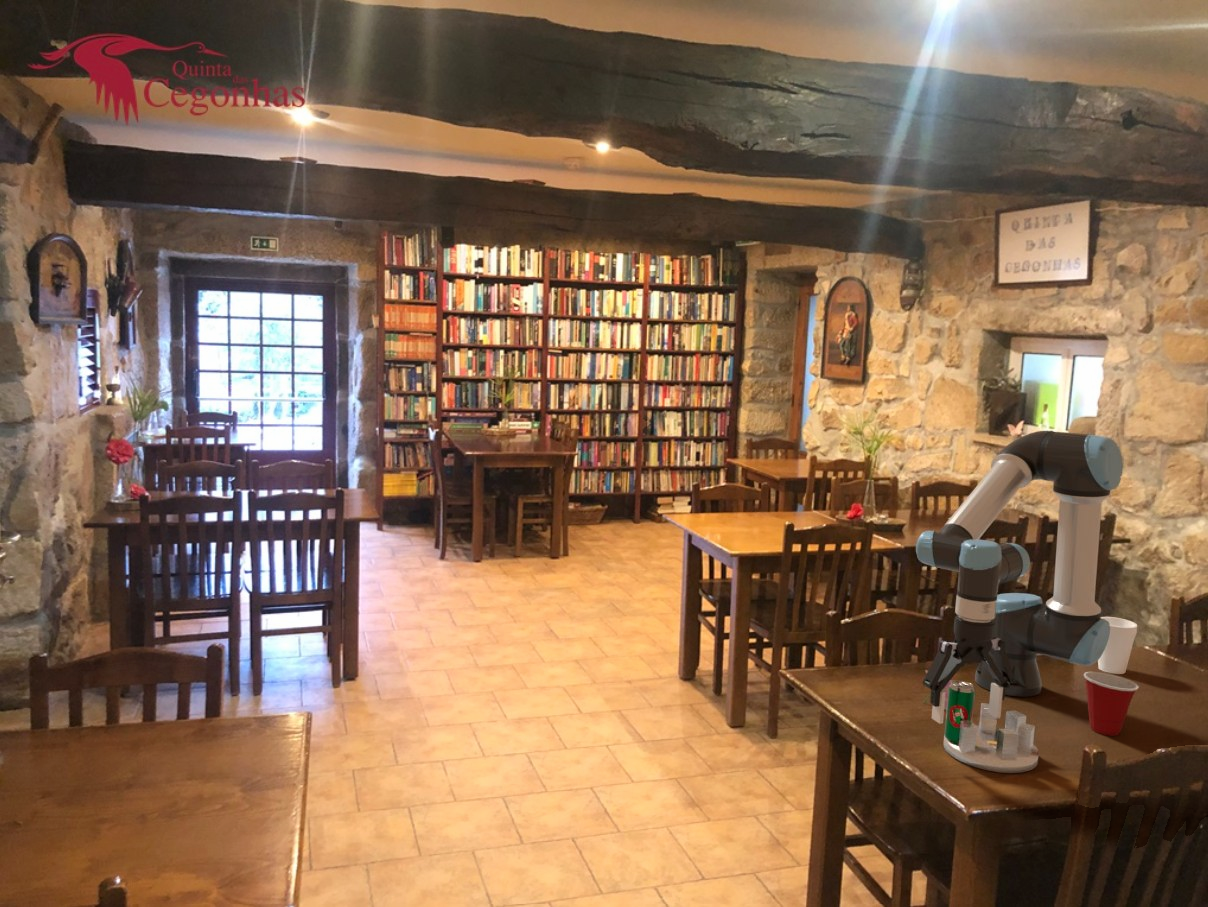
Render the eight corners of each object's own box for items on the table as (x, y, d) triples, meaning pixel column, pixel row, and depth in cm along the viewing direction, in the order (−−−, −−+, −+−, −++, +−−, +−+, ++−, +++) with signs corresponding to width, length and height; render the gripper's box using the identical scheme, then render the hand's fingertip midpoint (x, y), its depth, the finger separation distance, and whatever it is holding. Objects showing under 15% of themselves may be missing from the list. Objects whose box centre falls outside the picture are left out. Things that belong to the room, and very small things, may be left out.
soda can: (956, 733, 193) (961, 678, 191) (975, 742, 188) (981, 686, 187) (938, 736, 190) (943, 681, 189) (957, 746, 186) (963, 689, 185)
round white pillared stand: (934, 730, 199) (937, 697, 198) (1020, 737, 196) (1023, 704, 196) (955, 768, 181) (959, 732, 180) (1051, 776, 179) (1054, 740, 178)
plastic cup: (1145, 738, 199) (1151, 685, 197) (1105, 743, 196) (1111, 689, 194) (1105, 718, 209) (1110, 668, 208) (1067, 722, 206) (1072, 671, 205)
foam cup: (1139, 676, 237) (1144, 628, 235) (1103, 675, 237) (1108, 627, 235) (1119, 663, 246) (1124, 617, 245) (1085, 662, 246) (1089, 616, 245)
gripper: (932, 626, 176) (924, 731, 179) (1040, 619, 183) (1030, 720, 186) (909, 614, 183) (901, 715, 186) (1014, 608, 190) (1005, 706, 193)
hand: (966, 718), depth 186 cm, fingers open, 13 cm apart
